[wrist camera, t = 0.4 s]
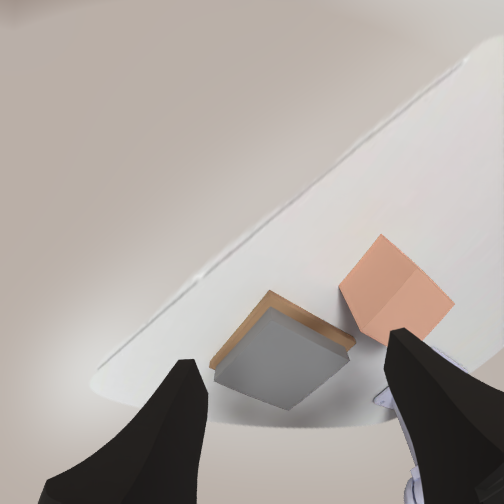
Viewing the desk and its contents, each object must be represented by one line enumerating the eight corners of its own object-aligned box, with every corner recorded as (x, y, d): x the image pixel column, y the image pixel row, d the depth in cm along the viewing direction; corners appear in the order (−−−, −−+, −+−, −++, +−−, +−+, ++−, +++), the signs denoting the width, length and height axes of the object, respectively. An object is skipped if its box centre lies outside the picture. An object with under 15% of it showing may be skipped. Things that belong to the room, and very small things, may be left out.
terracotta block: (419, 267, 18) (455, 304, 14) (379, 312, 20) (405, 356, 15) (380, 233, 17) (417, 267, 13) (338, 285, 19) (360, 331, 14)
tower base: (351, 330, 21) (356, 342, 20) (289, 388, 24) (290, 400, 23) (268, 283, 20) (270, 295, 18) (211, 354, 22) (209, 367, 21)
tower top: (344, 346, 20) (349, 360, 19) (287, 397, 23) (288, 410, 21) (270, 306, 19) (271, 320, 17) (215, 366, 21) (213, 381, 20)
